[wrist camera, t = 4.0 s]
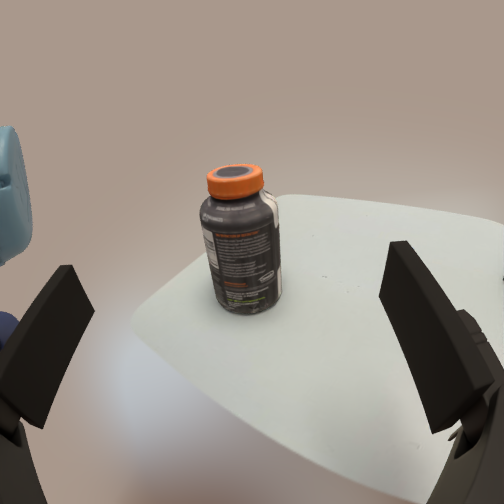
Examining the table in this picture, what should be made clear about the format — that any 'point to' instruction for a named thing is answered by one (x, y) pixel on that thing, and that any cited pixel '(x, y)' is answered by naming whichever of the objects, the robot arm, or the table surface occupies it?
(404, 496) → the table surface
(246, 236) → the pill bottle
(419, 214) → the table surface
